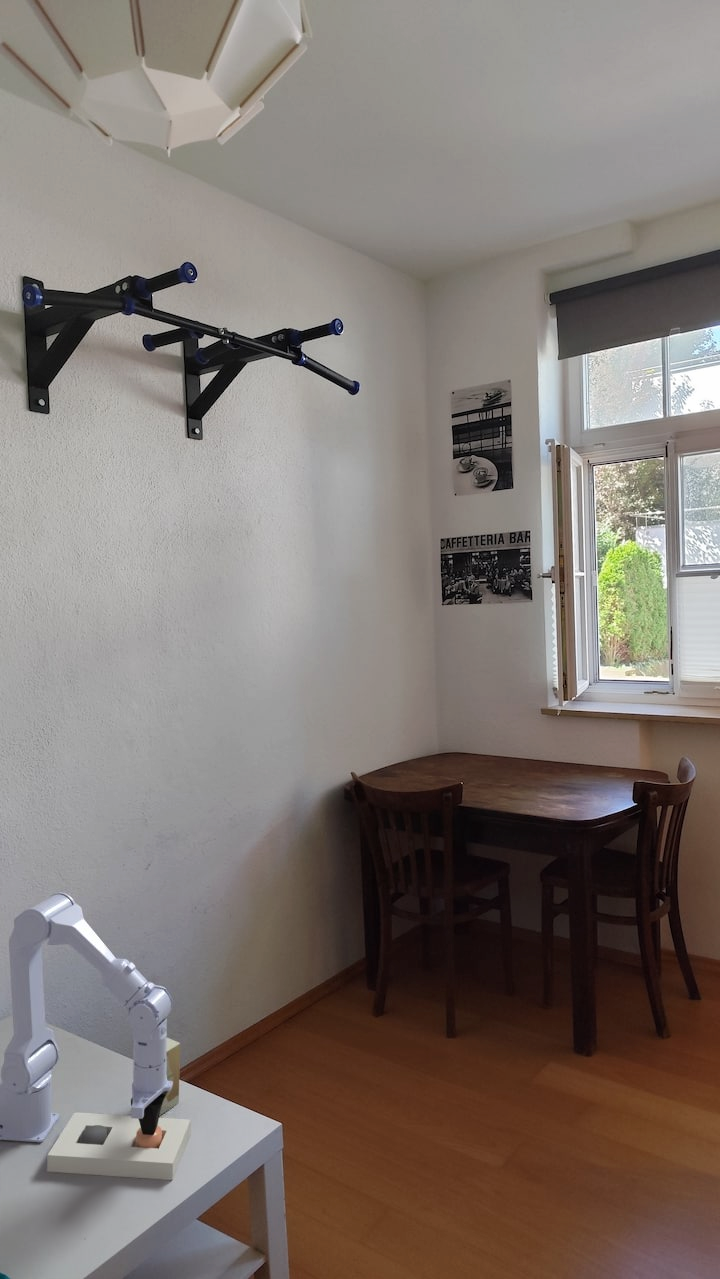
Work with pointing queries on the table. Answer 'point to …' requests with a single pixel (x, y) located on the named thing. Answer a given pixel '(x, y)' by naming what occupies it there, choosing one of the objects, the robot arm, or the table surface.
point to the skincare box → (172, 1074)
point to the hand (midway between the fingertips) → (149, 1132)
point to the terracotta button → (149, 1139)
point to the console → (119, 1148)
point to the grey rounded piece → (94, 1135)
